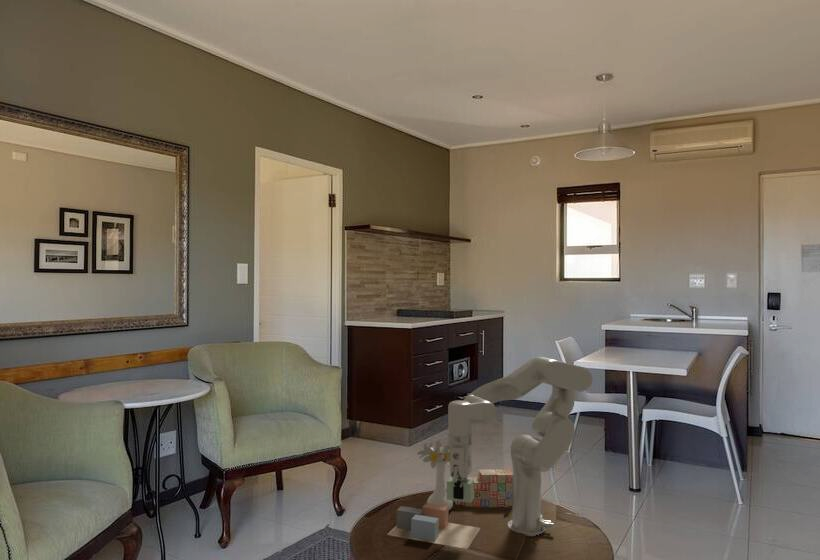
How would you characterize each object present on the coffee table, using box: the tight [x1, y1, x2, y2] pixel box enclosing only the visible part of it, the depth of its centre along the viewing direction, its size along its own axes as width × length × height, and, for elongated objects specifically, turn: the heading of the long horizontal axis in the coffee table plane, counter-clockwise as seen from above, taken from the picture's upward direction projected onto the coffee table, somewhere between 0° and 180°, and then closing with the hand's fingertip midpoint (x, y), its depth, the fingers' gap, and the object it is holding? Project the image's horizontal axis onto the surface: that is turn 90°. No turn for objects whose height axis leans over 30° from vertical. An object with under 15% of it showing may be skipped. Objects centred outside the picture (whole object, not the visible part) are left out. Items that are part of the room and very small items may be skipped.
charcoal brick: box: [396, 505, 423, 530], centre depth 200 cm, size 8×4×6 cm, turn 70°
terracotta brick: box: [422, 502, 450, 528], centre depth 203 cm, size 8×4×6 cm, turn 70°
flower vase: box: [417, 440, 454, 511], centre depth 216 cm, size 13×18×25 cm
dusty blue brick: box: [411, 515, 439, 542], centre depth 193 cm, size 8×4×6 cm, turn 70°
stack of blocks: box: [454, 468, 513, 508], centre depth 225 cm, size 21×6×12 cm, turn 93°
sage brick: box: [446, 476, 474, 503], centre depth 193 cm, size 8×4×6 cm, turn 70°
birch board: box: [386, 522, 481, 550], centre depth 197 cm, size 27×17×1 cm, turn 70°
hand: (460, 495), depth 193 cm, fingers closed on sage brick, 4 cm apart
